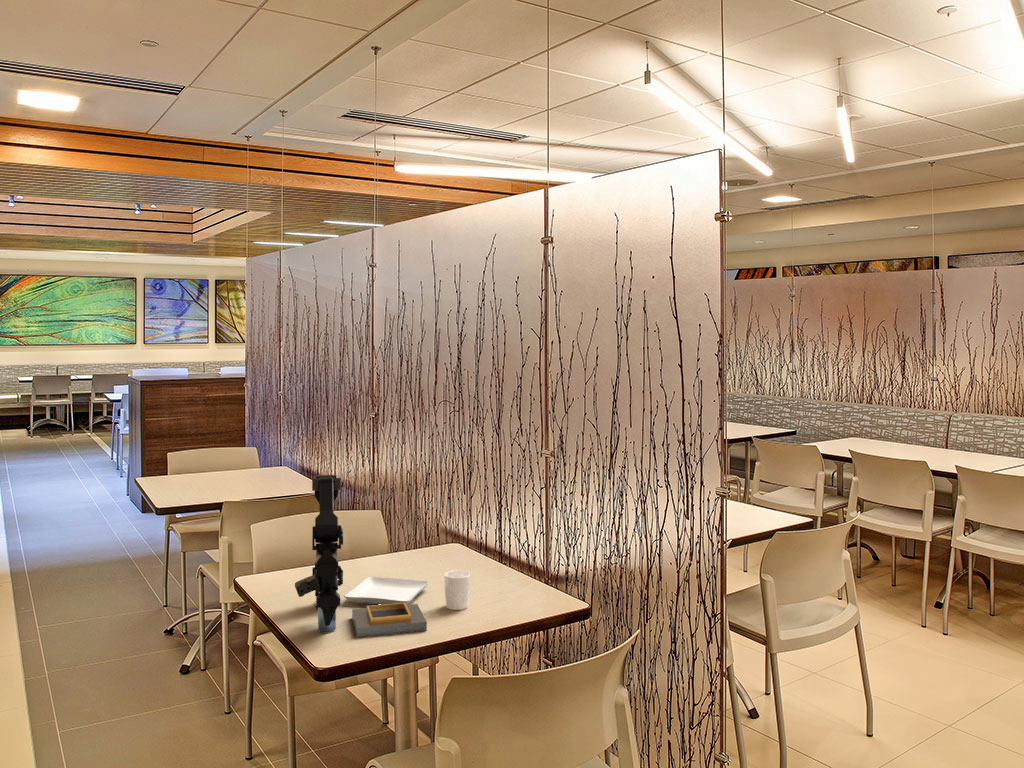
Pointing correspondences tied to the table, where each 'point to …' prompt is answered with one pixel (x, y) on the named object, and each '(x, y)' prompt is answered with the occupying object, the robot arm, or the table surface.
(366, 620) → the grey and gold frame
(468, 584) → the white cup
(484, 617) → the table surface
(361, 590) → the salad plate
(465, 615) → the table surface
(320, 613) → the can
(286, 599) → the table surface
